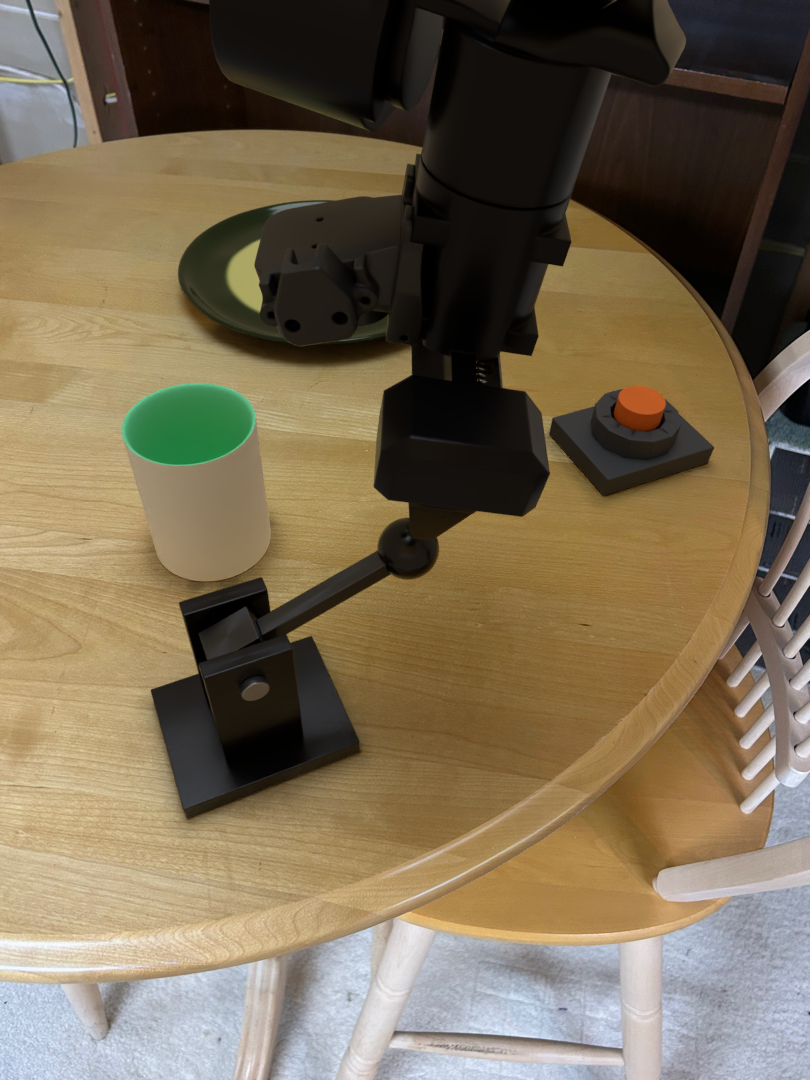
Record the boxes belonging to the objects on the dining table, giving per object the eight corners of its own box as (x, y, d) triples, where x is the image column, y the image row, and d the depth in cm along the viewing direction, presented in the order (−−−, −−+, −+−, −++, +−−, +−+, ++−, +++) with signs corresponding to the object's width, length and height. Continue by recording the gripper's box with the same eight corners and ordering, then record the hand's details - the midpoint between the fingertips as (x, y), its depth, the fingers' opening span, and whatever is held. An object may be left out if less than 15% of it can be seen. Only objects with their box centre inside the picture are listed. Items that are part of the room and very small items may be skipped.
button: (669, 425, 62) (675, 407, 61) (631, 436, 61) (636, 418, 60) (642, 399, 64) (647, 381, 63) (604, 409, 63) (609, 391, 62)
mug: (147, 473, 61) (116, 358, 54) (253, 456, 63) (237, 342, 55) (159, 591, 53) (124, 475, 46) (280, 568, 55) (265, 453, 48)
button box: (708, 463, 64) (722, 429, 62) (603, 496, 61) (613, 461, 59) (648, 405, 69) (659, 371, 66) (548, 433, 66) (556, 399, 63)
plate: (482, 360, 73) (485, 336, 71) (168, 370, 70) (162, 346, 69) (441, 217, 92) (443, 196, 90) (193, 221, 89) (189, 199, 87)
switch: (312, 646, 51) (303, 541, 44) (360, 752, 46) (358, 653, 39) (154, 700, 48) (116, 597, 41) (186, 819, 43) (150, 726, 36)
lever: (429, 529, 44) (413, 495, 41) (456, 570, 42) (440, 537, 39) (220, 649, 43) (191, 621, 41) (237, 696, 41) (207, 671, 39)
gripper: (302, 35, 34) (284, 335, 46) (234, 277, 22) (234, 599, 34) (553, 82, 36) (473, 363, 47) (617, 336, 24) (489, 627, 35)
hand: (421, 468), depth 41 cm, fingers open, 9 cm apart
